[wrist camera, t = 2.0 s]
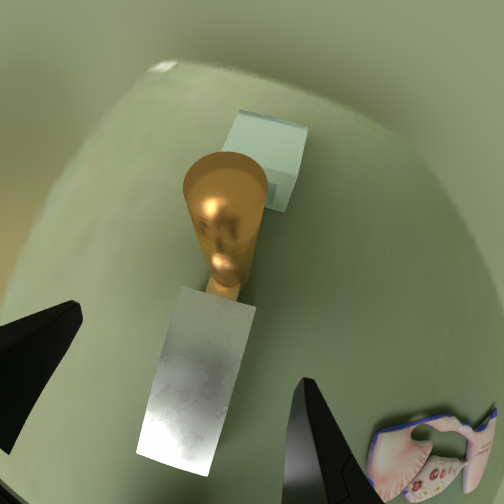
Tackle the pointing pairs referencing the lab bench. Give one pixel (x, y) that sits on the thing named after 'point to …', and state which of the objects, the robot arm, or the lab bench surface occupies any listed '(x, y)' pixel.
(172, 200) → the lab bench surface
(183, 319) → the aluminium sleeve
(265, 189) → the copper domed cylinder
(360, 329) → the lab bench surface
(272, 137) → the green socket
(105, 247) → the lab bench surface
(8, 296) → the lab bench surface
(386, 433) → the anatomical model
